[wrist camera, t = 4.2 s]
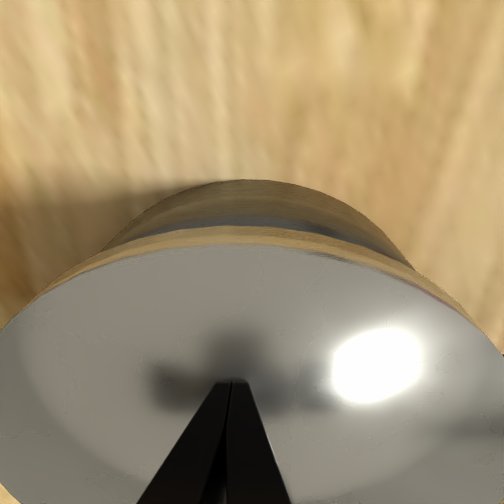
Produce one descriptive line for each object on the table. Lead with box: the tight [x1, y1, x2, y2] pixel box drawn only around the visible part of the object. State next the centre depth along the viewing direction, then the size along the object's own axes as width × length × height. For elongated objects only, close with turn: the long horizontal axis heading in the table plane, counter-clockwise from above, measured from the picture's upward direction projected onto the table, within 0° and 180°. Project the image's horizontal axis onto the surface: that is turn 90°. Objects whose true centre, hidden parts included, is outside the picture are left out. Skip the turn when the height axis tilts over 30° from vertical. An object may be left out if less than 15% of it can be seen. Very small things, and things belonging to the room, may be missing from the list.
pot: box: [101, 180, 504, 356], centre depth 15 cm, size 18×23×5 cm
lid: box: [0, 226, 504, 504], centre depth 10 cm, size 16×16×3 cm
